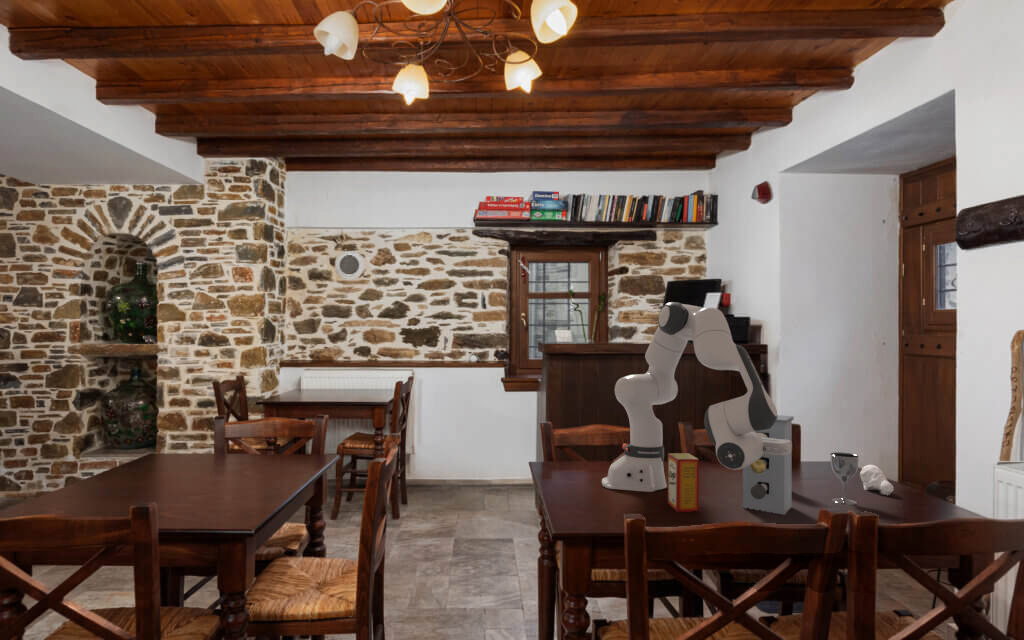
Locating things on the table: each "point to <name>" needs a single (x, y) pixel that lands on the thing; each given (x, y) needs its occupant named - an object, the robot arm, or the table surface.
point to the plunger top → (763, 435)
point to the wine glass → (844, 472)
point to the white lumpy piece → (875, 479)
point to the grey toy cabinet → (772, 474)
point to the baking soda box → (683, 482)
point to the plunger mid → (760, 465)
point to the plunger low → (759, 490)
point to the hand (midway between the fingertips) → (759, 440)
